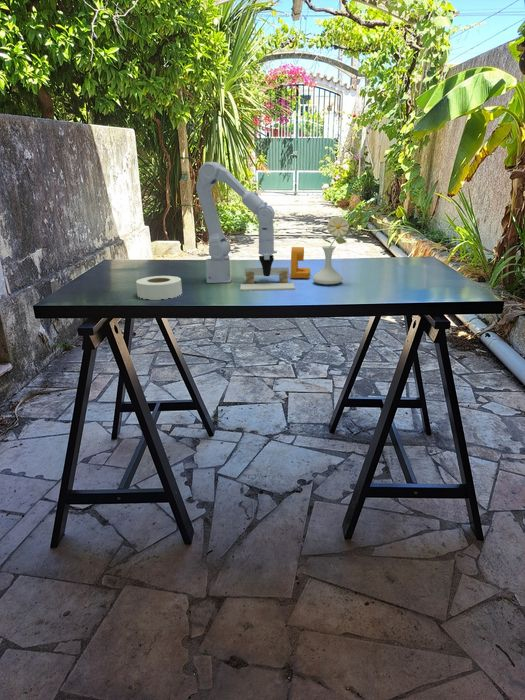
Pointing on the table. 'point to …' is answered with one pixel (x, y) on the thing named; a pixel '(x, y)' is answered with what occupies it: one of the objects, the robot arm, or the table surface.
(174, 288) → the roll of tape
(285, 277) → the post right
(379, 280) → the table surface
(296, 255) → the bracket
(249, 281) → the post left
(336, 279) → the flower in vase
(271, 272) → the rail
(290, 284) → the mat
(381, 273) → the table surface
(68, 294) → the table surface
